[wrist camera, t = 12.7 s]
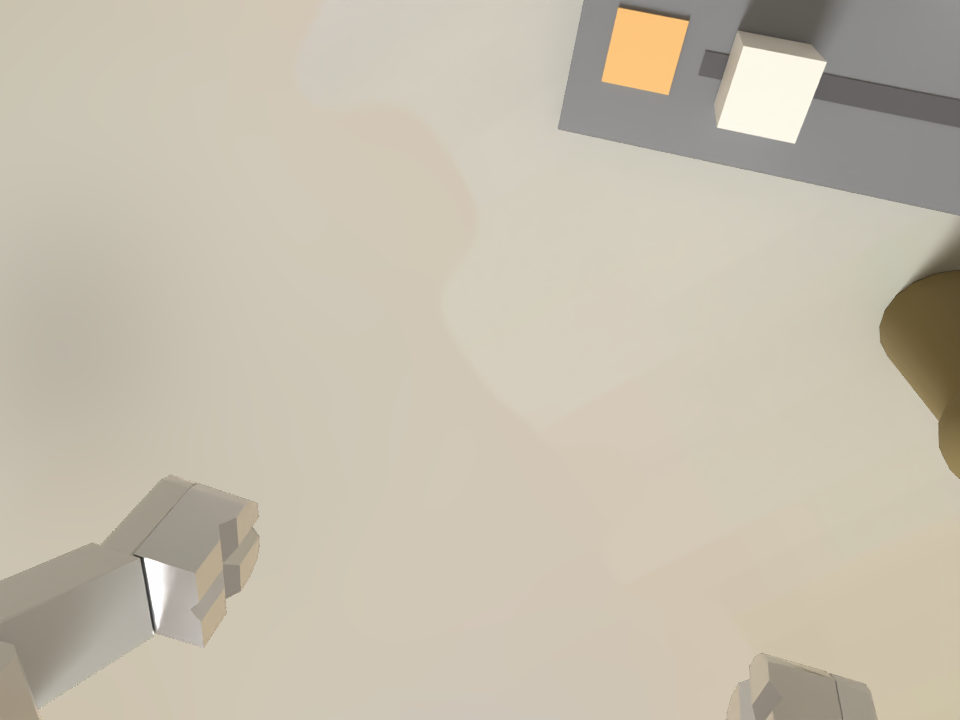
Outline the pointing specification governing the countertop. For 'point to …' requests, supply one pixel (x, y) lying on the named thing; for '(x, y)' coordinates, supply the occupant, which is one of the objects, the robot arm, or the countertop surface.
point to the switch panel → (833, 110)
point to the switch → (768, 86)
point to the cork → (930, 351)
